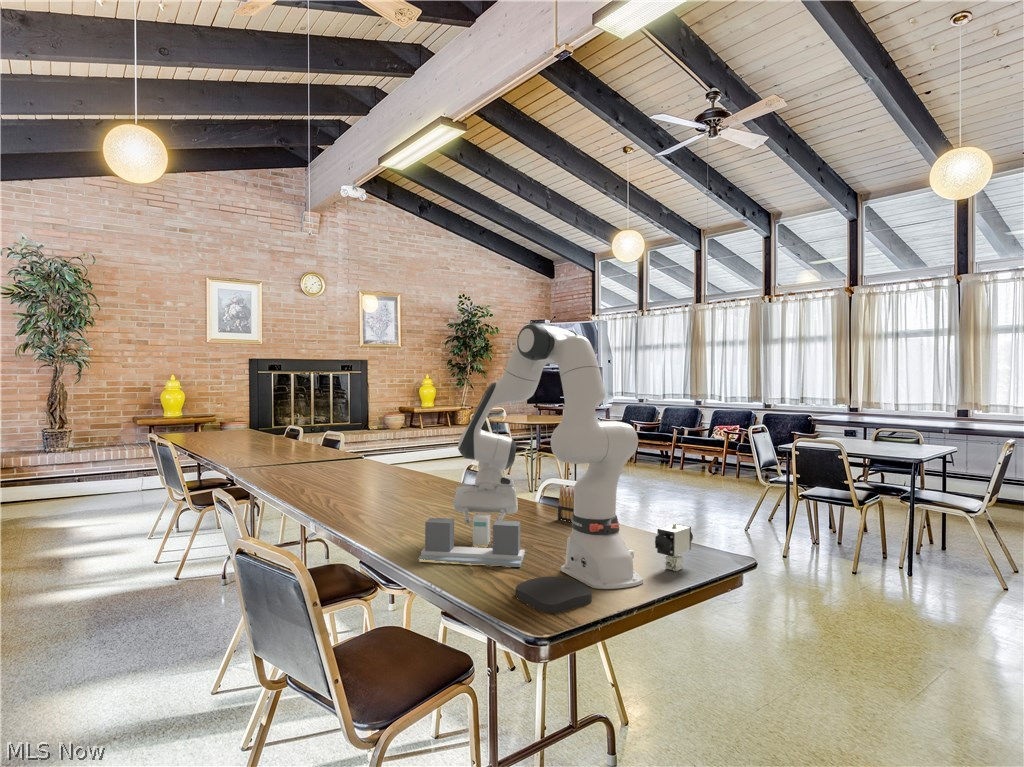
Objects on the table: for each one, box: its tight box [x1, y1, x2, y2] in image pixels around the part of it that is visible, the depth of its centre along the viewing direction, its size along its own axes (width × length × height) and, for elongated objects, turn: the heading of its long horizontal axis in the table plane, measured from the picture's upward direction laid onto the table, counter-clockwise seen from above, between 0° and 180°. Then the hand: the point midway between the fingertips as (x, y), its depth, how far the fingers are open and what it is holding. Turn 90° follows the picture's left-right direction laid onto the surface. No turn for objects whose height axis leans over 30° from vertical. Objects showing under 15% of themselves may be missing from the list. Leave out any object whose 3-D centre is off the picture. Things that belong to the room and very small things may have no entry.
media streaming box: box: [514, 576, 593, 614], centre depth 127 cm, size 15×15×3 cm
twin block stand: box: [417, 517, 526, 568], centre depth 155 cm, size 12×28×10 cm, turn 82°
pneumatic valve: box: [654, 523, 694, 572], centre depth 148 cm, size 6×12×12 cm, turn 133°
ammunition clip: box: [557, 486, 574, 523], centre depth 197 cm, size 11×2×12 cm, turn 45°
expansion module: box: [472, 512, 492, 547], centre depth 168 cm, size 5×4×9 cm
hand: (482, 523), depth 169 cm, fingers open, 8 cm apart
